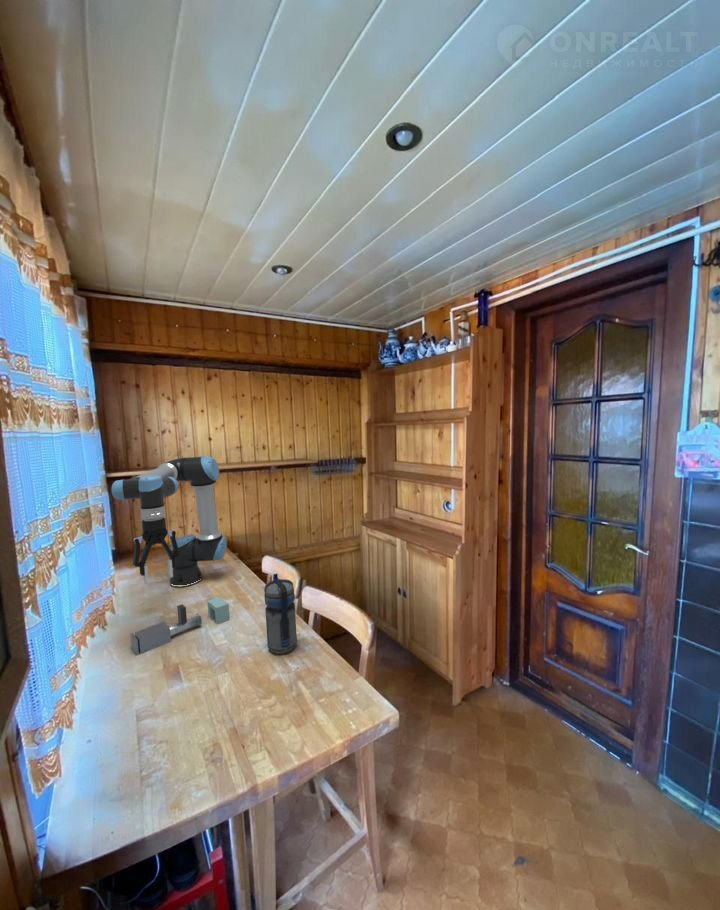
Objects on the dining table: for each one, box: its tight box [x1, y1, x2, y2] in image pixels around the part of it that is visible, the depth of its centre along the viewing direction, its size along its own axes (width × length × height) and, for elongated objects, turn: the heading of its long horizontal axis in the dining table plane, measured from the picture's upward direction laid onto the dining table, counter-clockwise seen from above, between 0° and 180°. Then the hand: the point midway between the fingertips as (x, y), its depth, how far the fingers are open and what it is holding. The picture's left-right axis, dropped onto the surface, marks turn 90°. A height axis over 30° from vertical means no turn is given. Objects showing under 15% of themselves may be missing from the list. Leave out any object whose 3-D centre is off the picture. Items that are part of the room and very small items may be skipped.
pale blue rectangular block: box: [206, 596, 231, 625], centre depth 153 cm, size 5×9×7 cm, turn 44°
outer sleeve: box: [129, 621, 172, 656], centre depth 136 cm, size 11×7×5 cm, turn 134°
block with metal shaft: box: [137, 604, 203, 650], centre depth 140 cm, size 22×4×10 cm, turn 134°
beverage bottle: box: [263, 573, 298, 655], centre depth 130 cm, size 10×13×25 cm
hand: (158, 579), depth 137 cm, fingers open, 8 cm apart
